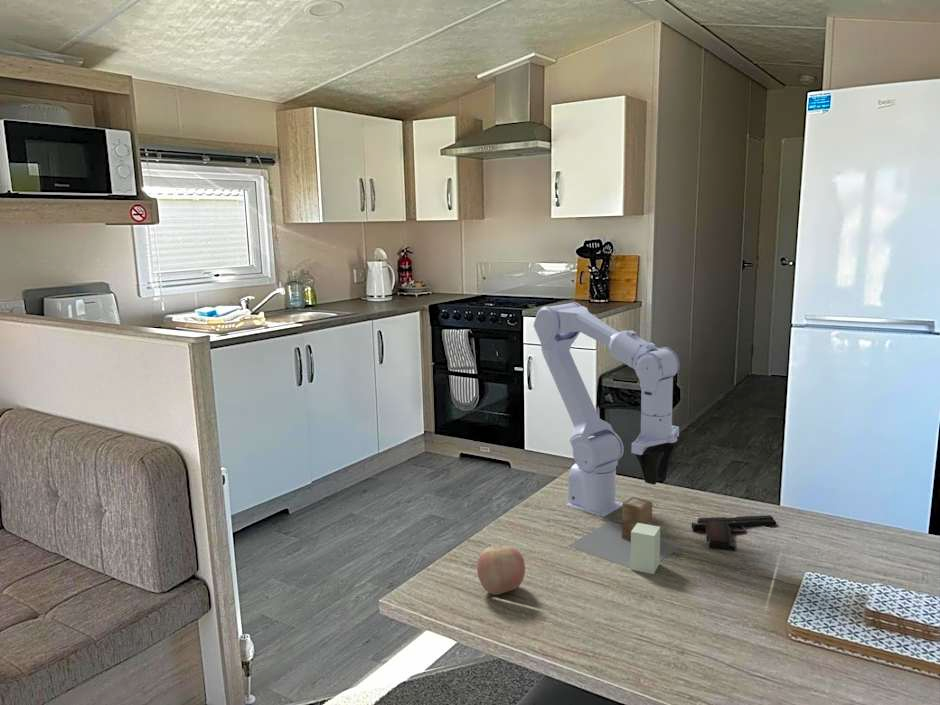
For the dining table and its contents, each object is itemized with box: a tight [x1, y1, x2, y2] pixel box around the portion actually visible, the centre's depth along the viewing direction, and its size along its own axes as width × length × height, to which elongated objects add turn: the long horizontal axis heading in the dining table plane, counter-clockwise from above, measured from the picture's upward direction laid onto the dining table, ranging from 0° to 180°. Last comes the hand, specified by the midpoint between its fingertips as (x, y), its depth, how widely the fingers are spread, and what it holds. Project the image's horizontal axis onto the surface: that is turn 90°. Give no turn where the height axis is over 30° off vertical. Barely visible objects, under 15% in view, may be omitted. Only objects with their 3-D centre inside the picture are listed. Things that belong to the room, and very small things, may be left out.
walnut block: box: [621, 496, 653, 541], centre depth 136 cm, size 4×4×7 cm
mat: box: [567, 521, 684, 574], centre depth 134 cm, size 16×14×1 cm
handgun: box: [691, 514, 777, 552], centre depth 137 cm, size 2×17×12 cm
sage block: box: [629, 523, 661, 575], centre depth 125 cm, size 4×4×7 cm
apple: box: [476, 545, 526, 596], centre depth 119 cm, size 8×8×8 cm
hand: (655, 480), depth 139 cm, fingers open, 3 cm apart
